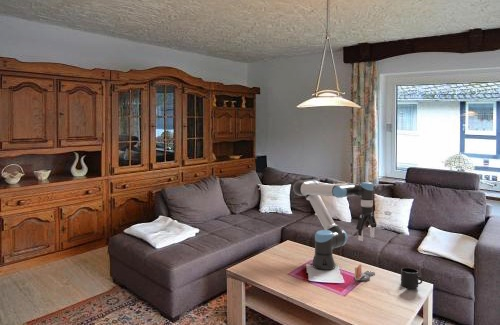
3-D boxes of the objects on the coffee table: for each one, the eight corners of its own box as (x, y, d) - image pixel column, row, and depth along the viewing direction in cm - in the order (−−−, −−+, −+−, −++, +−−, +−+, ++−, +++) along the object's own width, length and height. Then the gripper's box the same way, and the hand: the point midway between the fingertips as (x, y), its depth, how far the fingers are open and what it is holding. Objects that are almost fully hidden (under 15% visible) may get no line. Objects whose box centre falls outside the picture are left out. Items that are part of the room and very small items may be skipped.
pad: (353, 272, 228) (353, 271, 228) (363, 269, 235) (363, 268, 235) (368, 277, 220) (368, 276, 220) (378, 273, 227) (378, 272, 227)
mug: (418, 291, 198) (418, 275, 198) (397, 285, 207) (398, 270, 207) (425, 287, 204) (425, 271, 204) (405, 281, 213) (405, 266, 213)
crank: (360, 274, 220) (360, 261, 220) (366, 275, 218) (366, 263, 218) (354, 279, 212) (354, 266, 211) (361, 280, 209) (361, 267, 209)
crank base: (349, 279, 217) (349, 266, 216) (360, 275, 224) (360, 262, 224) (362, 283, 210) (362, 270, 209) (372, 279, 217) (372, 266, 217)
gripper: (361, 209, 215) (360, 243, 216) (382, 205, 231) (381, 236, 232) (350, 207, 221) (350, 240, 221) (372, 203, 237) (371, 234, 237)
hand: (366, 238), depth 226 cm, fingers open, 13 cm apart
